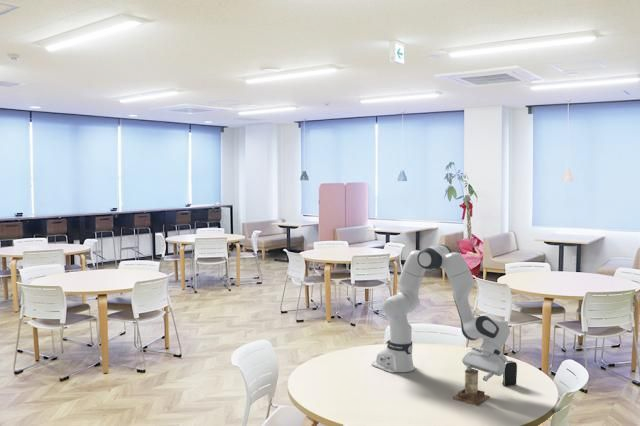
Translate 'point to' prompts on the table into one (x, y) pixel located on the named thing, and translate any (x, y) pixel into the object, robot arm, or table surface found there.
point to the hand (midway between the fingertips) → (475, 377)
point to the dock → (471, 397)
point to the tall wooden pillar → (471, 382)
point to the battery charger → (510, 374)
